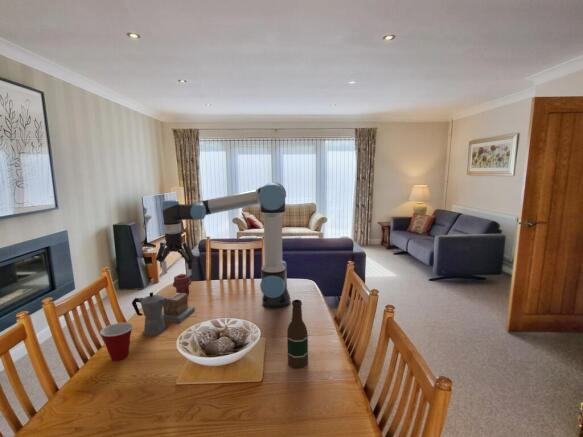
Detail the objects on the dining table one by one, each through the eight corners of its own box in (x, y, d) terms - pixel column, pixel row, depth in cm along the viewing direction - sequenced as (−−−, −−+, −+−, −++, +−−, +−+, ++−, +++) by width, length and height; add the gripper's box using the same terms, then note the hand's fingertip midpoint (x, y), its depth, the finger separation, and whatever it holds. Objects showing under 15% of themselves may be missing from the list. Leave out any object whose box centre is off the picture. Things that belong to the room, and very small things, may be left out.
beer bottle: (293, 372, 102) (292, 307, 98) (283, 359, 108) (282, 299, 105) (312, 365, 105) (311, 302, 101) (301, 353, 112) (301, 294, 108)
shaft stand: (194, 310, 149) (193, 295, 147) (180, 322, 137) (179, 305, 136) (172, 308, 152) (171, 293, 150) (157, 319, 140) (155, 303, 139)
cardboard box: (164, 314, 141) (162, 298, 140) (174, 307, 149) (172, 291, 148) (178, 315, 139) (177, 299, 138) (187, 308, 147) (186, 293, 146)
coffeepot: (173, 324, 135) (170, 288, 133) (165, 335, 126) (162, 296, 123) (140, 325, 135) (136, 289, 132) (129, 336, 125) (125, 297, 123)
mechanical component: (194, 291, 173) (188, 298, 163) (178, 291, 173) (170, 299, 163) (193, 272, 171) (186, 278, 161) (176, 272, 171) (169, 278, 161)
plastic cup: (142, 351, 115) (139, 322, 113) (118, 368, 105) (114, 337, 103) (121, 346, 119) (118, 318, 117) (96, 362, 109) (92, 332, 107)
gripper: (145, 233, 138) (149, 276, 141) (191, 234, 132) (195, 278, 135) (155, 230, 145) (159, 271, 148) (200, 231, 139) (203, 273, 143)
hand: (176, 274), depth 142 cm, fingers open, 13 cm apart
